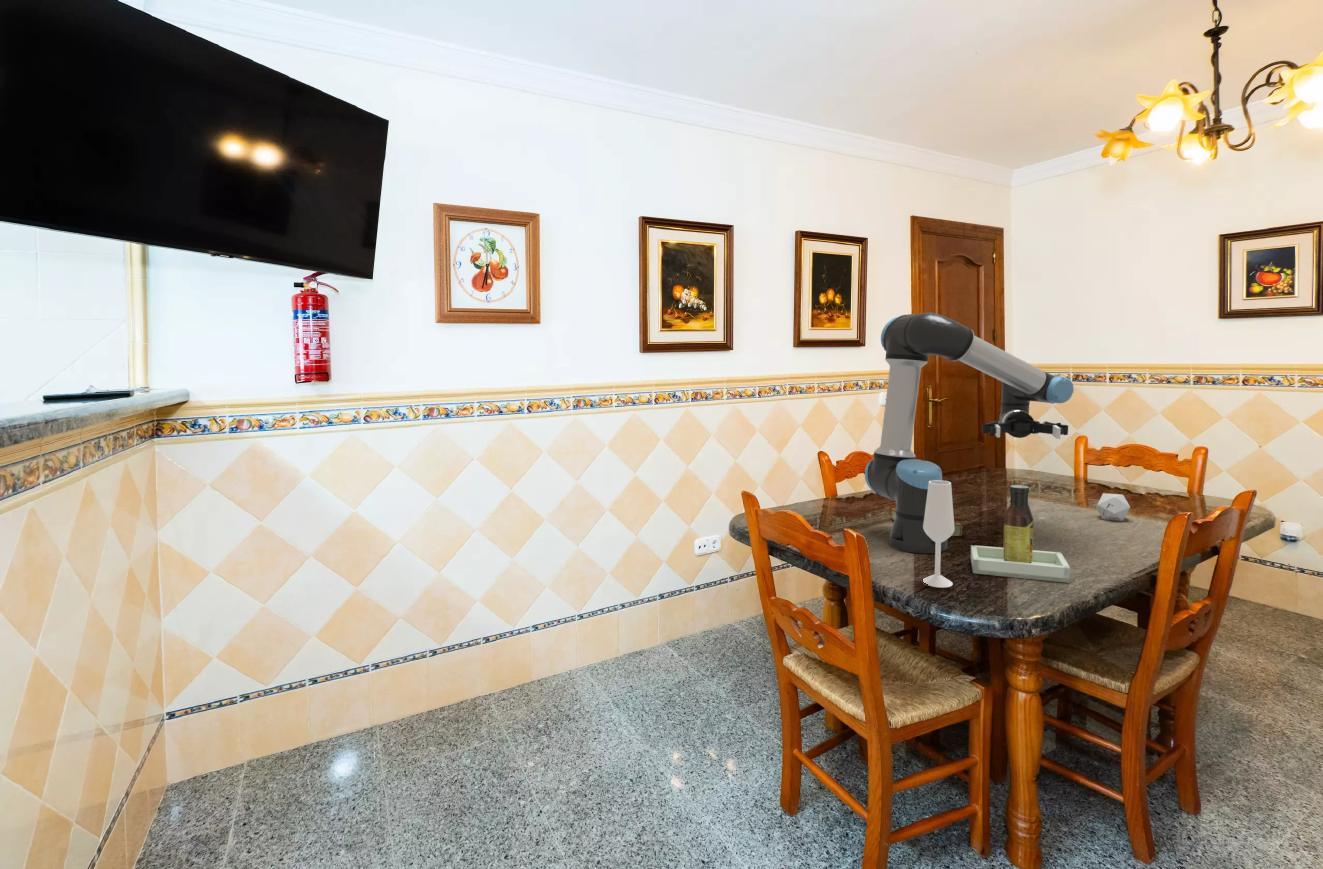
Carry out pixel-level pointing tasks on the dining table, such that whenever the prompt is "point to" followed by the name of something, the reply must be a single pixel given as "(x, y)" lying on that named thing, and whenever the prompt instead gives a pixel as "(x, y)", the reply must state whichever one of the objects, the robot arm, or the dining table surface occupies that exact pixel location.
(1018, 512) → the sauce bottle
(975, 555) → the tray
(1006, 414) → the robot arm
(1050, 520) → the dining table surface
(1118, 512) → the die
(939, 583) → the champagne flute
